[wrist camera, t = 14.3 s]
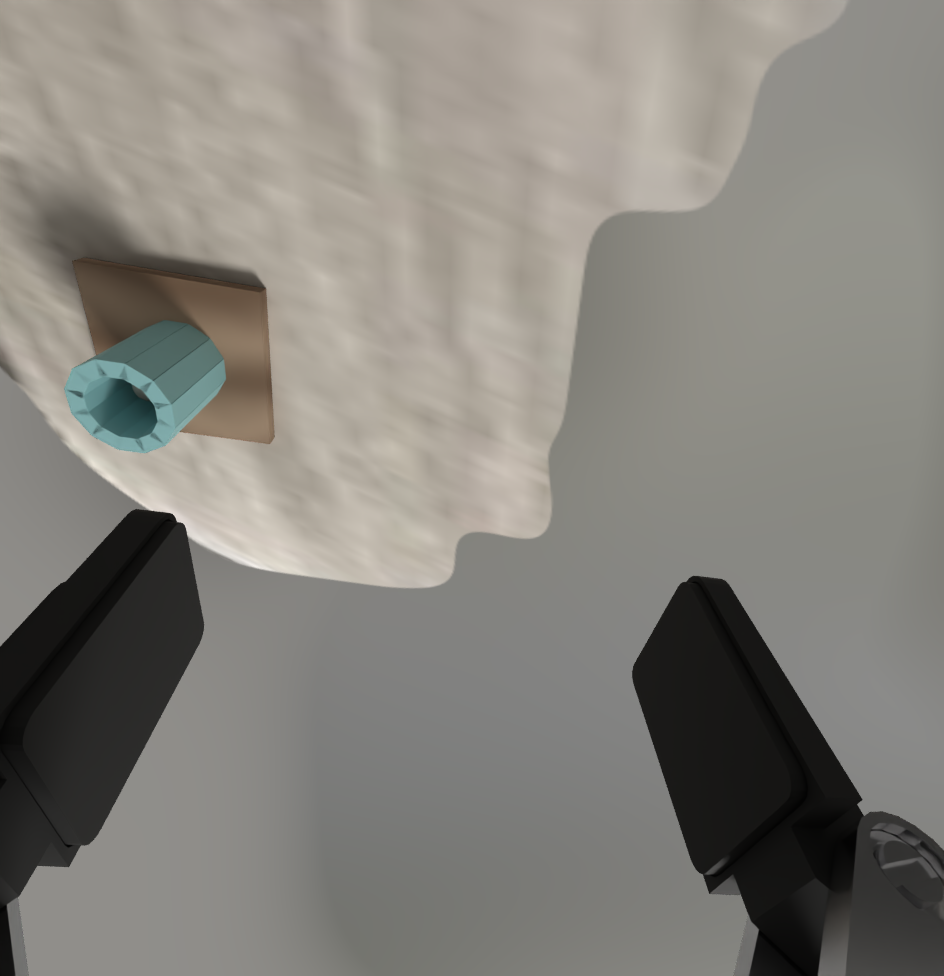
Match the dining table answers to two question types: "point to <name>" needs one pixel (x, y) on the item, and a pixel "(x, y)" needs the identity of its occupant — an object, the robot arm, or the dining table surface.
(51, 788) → the robot arm
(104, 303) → the pin board
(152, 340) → the sleeve
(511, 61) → the dining table surface
